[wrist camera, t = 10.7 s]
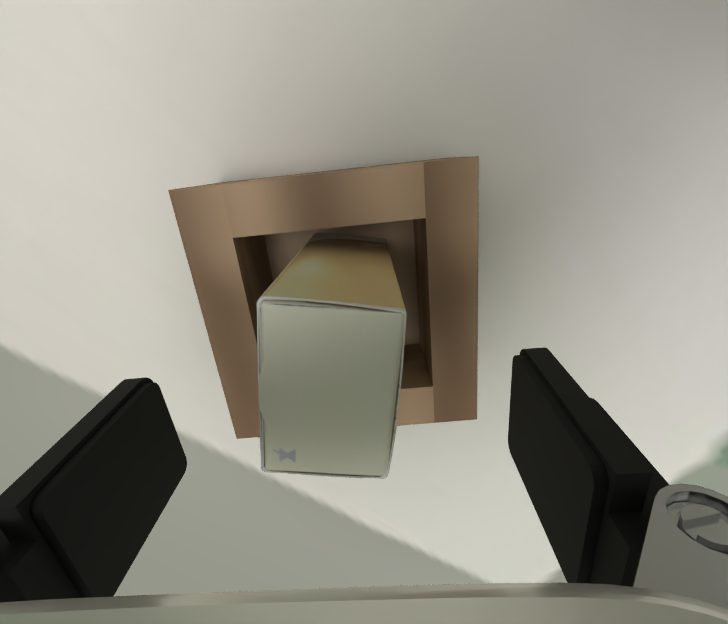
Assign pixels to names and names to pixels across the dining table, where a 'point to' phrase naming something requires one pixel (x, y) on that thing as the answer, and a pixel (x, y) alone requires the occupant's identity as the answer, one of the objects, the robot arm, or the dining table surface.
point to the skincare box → (331, 360)
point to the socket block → (347, 217)
